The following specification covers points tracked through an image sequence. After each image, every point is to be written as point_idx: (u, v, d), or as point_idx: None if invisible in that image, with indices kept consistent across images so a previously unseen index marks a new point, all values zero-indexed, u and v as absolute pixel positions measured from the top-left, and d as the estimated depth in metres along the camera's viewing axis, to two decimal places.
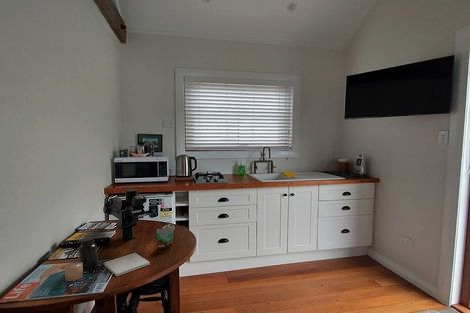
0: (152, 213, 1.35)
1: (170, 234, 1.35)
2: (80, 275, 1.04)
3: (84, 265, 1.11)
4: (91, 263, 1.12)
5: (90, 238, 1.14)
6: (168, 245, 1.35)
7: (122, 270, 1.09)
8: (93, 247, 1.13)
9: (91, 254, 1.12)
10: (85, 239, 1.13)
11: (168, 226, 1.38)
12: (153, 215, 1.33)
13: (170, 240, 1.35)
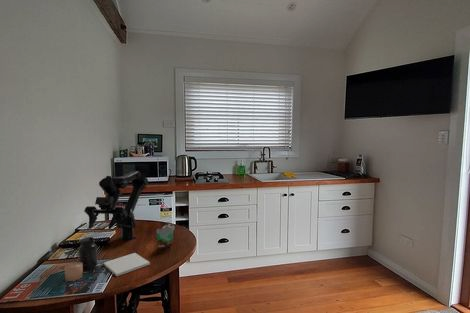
0: None
1: (170, 234, 1.35)
2: (80, 275, 1.04)
3: (84, 265, 1.11)
4: (91, 263, 1.12)
5: (90, 238, 1.14)
6: (168, 245, 1.35)
7: (122, 270, 1.09)
8: (93, 247, 1.13)
9: (91, 254, 1.12)
10: (85, 239, 1.13)
11: (168, 226, 1.38)
12: None
13: (170, 240, 1.35)
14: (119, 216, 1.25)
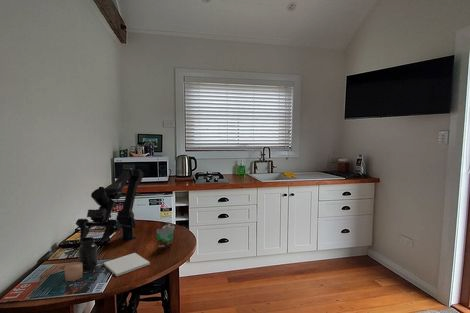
0: None
1: (170, 234, 1.35)
2: (80, 275, 1.04)
3: (84, 265, 1.11)
4: (91, 263, 1.12)
5: (90, 238, 1.14)
6: (168, 245, 1.35)
7: (122, 270, 1.09)
8: (93, 247, 1.13)
9: (91, 254, 1.12)
10: (85, 239, 1.13)
11: (168, 226, 1.38)
12: None
13: (170, 240, 1.35)
14: (112, 229, 1.20)
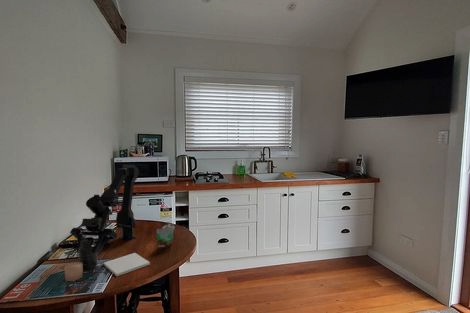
0: None
1: (170, 234, 1.35)
2: (80, 275, 1.04)
3: (84, 265, 1.11)
4: (91, 263, 1.12)
5: (90, 238, 1.14)
6: (168, 245, 1.35)
7: (122, 270, 1.09)
8: (93, 247, 1.13)
9: (91, 253, 1.12)
10: (85, 239, 1.13)
11: (168, 226, 1.38)
12: None
13: (170, 240, 1.35)
14: (105, 238, 1.16)
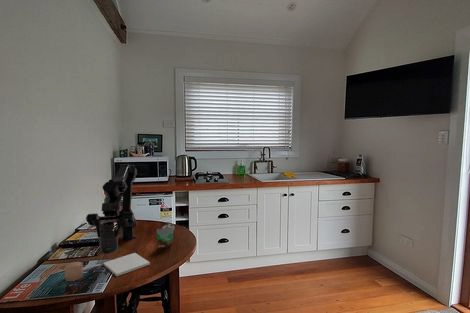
0: None
1: (170, 234, 1.35)
2: (80, 275, 1.04)
3: (107, 249, 1.11)
4: (114, 247, 1.12)
5: (110, 222, 1.14)
6: (168, 245, 1.35)
7: (122, 270, 1.09)
8: (115, 231, 1.13)
9: (114, 237, 1.12)
10: (106, 223, 1.12)
11: (168, 226, 1.38)
12: None
13: (170, 240, 1.35)
14: (125, 222, 1.18)
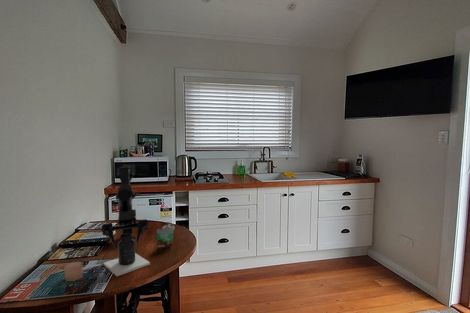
0: None
1: (170, 234, 1.35)
2: (80, 275, 1.04)
3: (128, 260, 1.13)
4: (133, 257, 1.15)
5: (128, 234, 1.16)
6: (168, 245, 1.35)
7: (122, 270, 1.09)
8: (134, 241, 1.16)
9: (133, 248, 1.15)
10: (124, 235, 1.15)
11: (168, 226, 1.38)
12: (137, 237, 1.18)
13: (170, 240, 1.35)
14: (142, 229, 1.21)
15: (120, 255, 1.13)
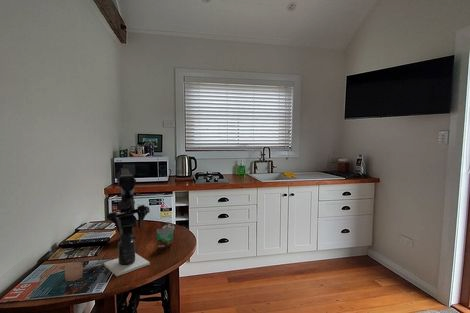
0: None
1: (170, 234, 1.35)
2: (80, 275, 1.05)
3: (128, 260, 1.13)
4: (133, 257, 1.15)
5: (128, 234, 1.16)
6: (168, 245, 1.35)
7: (122, 270, 1.09)
8: (134, 241, 1.16)
9: (133, 248, 1.15)
10: (124, 235, 1.15)
11: (168, 226, 1.38)
12: None
13: (170, 240, 1.35)
14: (143, 214, 1.29)
15: (120, 255, 1.13)
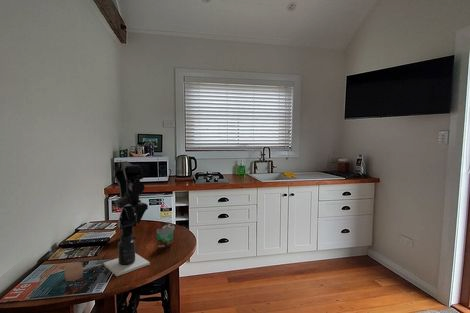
0: None
1: (170, 234, 1.35)
2: (80, 275, 1.05)
3: (128, 260, 1.13)
4: (133, 257, 1.15)
5: (128, 234, 1.16)
6: (168, 245, 1.35)
7: (122, 270, 1.09)
8: (134, 241, 1.16)
9: (133, 248, 1.15)
10: (124, 235, 1.14)
11: (168, 226, 1.38)
12: None
13: (170, 240, 1.35)
14: None
15: (120, 255, 1.13)
